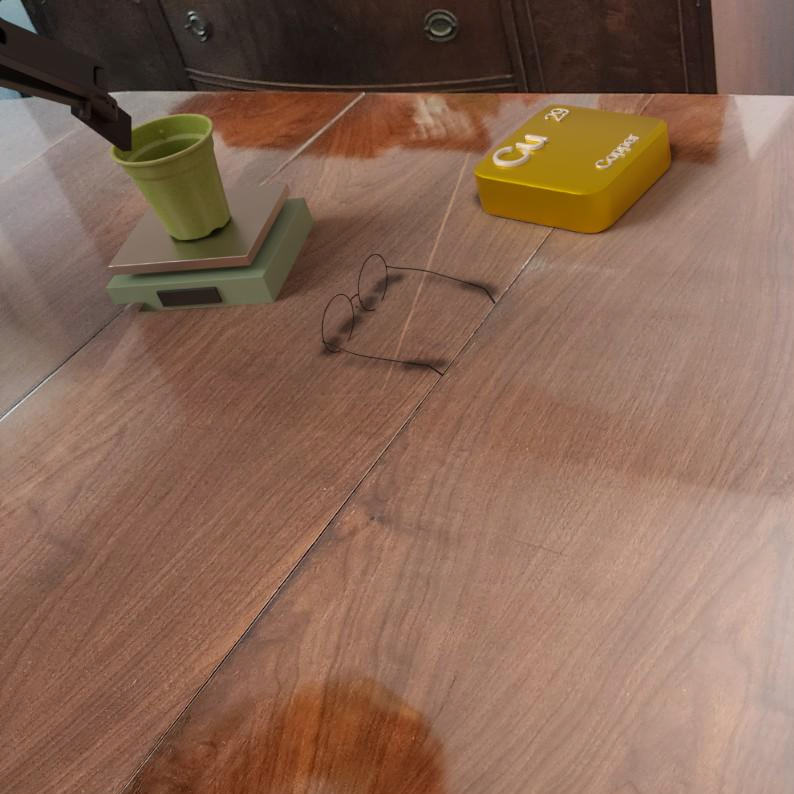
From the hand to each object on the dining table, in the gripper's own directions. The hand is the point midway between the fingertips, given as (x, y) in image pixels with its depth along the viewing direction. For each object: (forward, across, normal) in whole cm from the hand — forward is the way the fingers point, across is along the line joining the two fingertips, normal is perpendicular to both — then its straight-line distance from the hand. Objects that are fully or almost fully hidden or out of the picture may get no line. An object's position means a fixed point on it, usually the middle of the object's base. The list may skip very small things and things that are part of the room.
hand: (48, 142), depth 88 cm
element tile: (+29, +37, +5) cm, 48 cm away
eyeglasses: (+15, +25, -13) cm, 32 cm away
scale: (+23, +2, -3) cm, 24 cm away
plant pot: (+20, +2, 0) cm, 20 cm away
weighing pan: (+20, +2, 0) cm, 20 cm away
